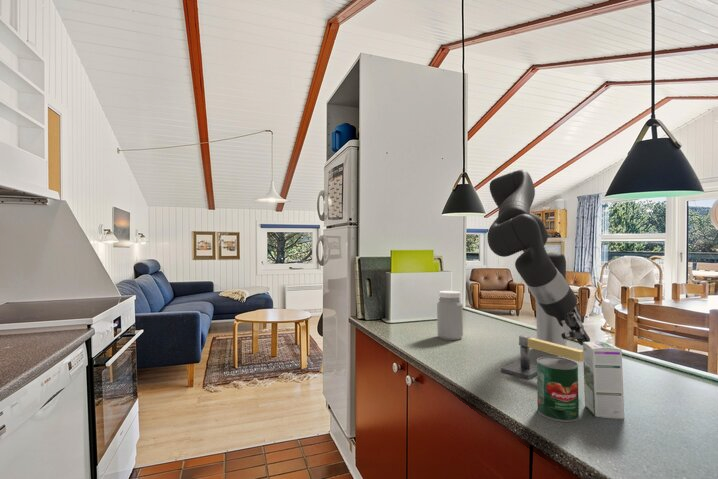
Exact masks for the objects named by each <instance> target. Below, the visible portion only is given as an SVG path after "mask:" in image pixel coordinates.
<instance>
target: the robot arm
mask: <svg viewBox="0 0 718 479" xmlns="http://www.w3.org/2000/svg"><path fill="white" fill-rule="evenodd" d="M489 192H490V194H491V198H492V200H493V201H494V203H495V205H496V206H497V208H498V212H497V213H498V214H497V217H496V219H495V220H494V221H493V222H492V223H491V225H490V226H489V228H488V232H487V244H488V246H489V249H490V250H491V251H492V252H493V253H494V254H495V255H496V256H498V257H503V258H505V257H510V256H512V255H515V254H517V253H519V252H523V253H522V254H520V255H519V256H518V257H517V258H516V260H515V262H514V266H515V269H516V271H517V273H518V275H519V276H520V277H521V279H522V280H523V281H524V283H525V285H527V288H528V290H529V292H530V293H531V295H532V296H533V298H534V300H535V308H536V309H535V310H536V312H535V313H536V339H540V340H543V341H547V342H551V343H555V344H559V345H563V346H567V341H568V340H569V341H574V340H575V341H576V340H577V342H578V344H579V345H580V346H583V342H591V338H590V336H589V335H588V334H587V332H586V330H585V326H584V324H583V323H582V322H583V317H582V315H581V313H580V309H579V307H578V298H577V296H576V294H575V293H574V290H573V289H572V288H571V286H570V285H569V283H568V281H567V280H566V279H567V278H566V275H567V259H566V256H565V255H564V254H563V253H561V252H547V250H546V247H545V246H546V243H547V241H548V238H549V234H548V230H547V228H546V226H545V223H544V222H543V220H542V218H541V217H539V216H538V215H536V214H534V213H532V212H531V207H532V205H533V202H534V199H535V195H536V189H535V185H534V181H533V179H532V177H531V175H530V173H529V172H528V171H527V170H525V169H518V170H514V171H512V172H508V173H505V174H504V175H501V176H497V177H496V178H494V179H492V180H491V181H490V183H489Z"/></svg>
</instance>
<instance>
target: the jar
mask: <svg viewBox="0 0 718 479" xmlns="http://www.w3.org/2000/svg"><path fill="white" fill-rule="evenodd" d="M461 294H462V292H461V291H458V290H440V291H439V292H438V297H439V299H438V302H437V303H436V304H437V307H436V311H437V313H436V314H437V315H436V316H437V317H436V318H437V319H436V320H437V321H436V322H437V336H438V337H439V338H440V339H442V340H446V341H459V340H461V339H462V338H463V336H464V322H463V321H464V317H463V315H464V314H463V313H464V312H463V310H464V309H463V306H464V305H463V303H462V302H461V298H460V297H462V296H461Z"/></svg>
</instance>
